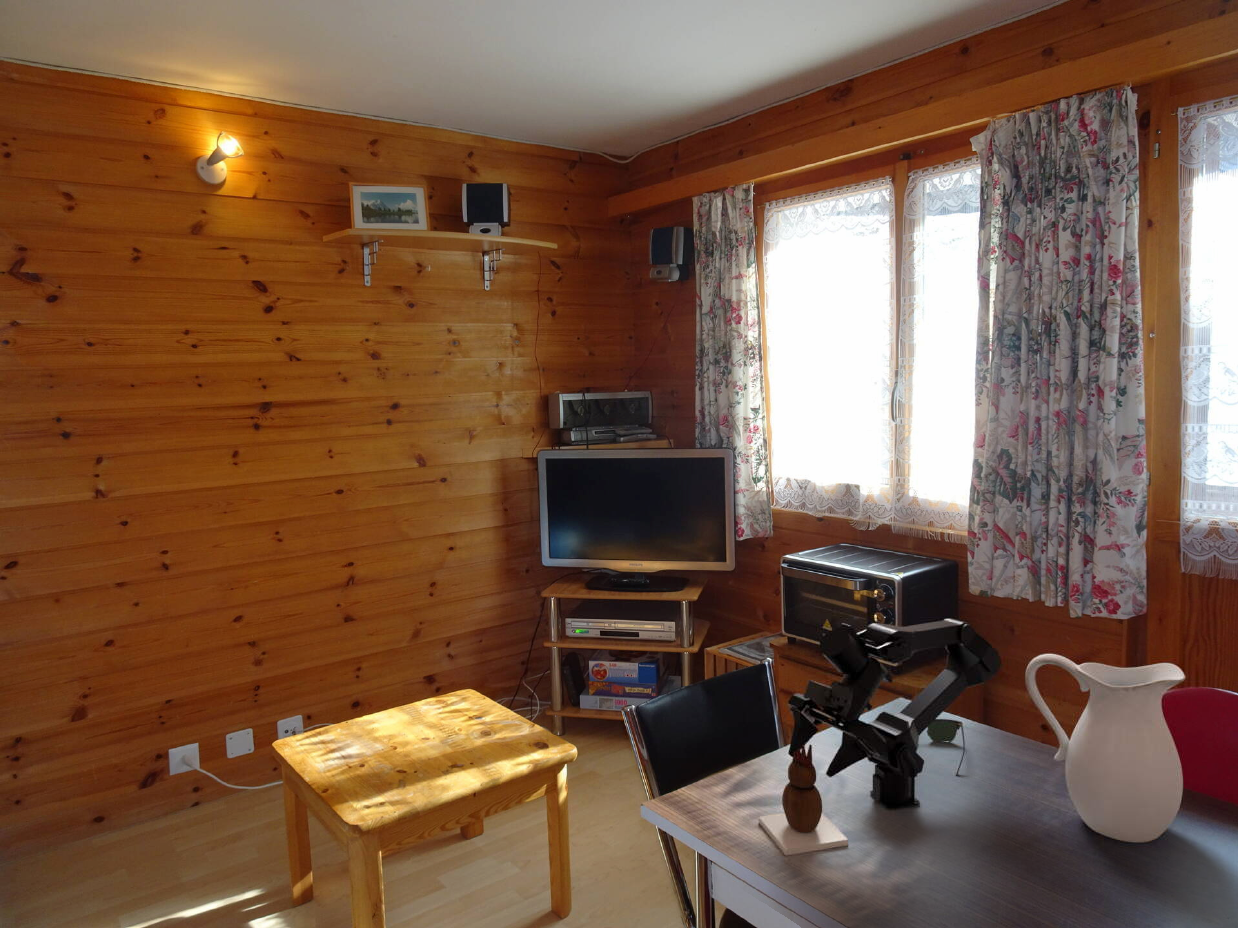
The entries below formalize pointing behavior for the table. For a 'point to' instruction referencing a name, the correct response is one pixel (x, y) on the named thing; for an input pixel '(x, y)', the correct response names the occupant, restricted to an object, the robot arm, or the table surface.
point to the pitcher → (1119, 748)
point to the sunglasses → (945, 732)
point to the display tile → (802, 835)
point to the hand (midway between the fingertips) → (808, 765)
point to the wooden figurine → (802, 793)
